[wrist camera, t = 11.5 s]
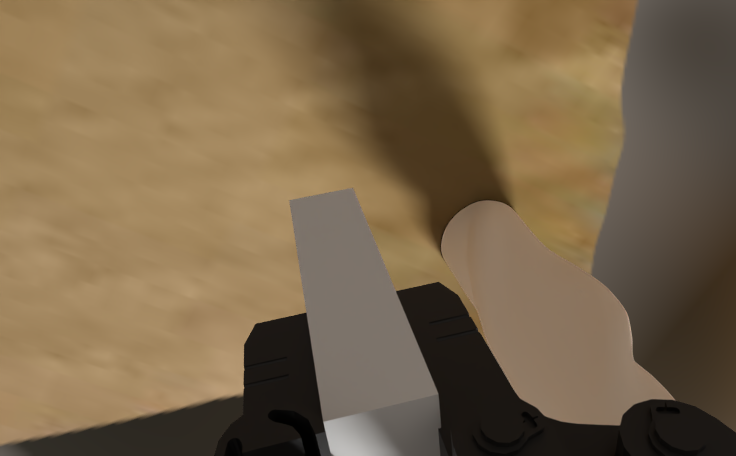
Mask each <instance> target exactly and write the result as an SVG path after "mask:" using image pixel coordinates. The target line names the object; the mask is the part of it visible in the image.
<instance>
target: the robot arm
mask: <svg viewBox="0 0 736 456" xmlns="http://www.w3.org/2000/svg"><path fill="white" fill-rule="evenodd" d="M289 201H290V208H291V214H292V221H293V227H294V234H295V240H296V247H297V253H298V260H299V266H300V273H301V280H302V286H303V293H304V299H305V306H306V312H307V313H303V314H298V315H294V316H289V317H285V318H280V319H276V320H271V321H267V322H262V323H257V324H255V326H254V328H253V330H252V332H251V333H250V335H249V337H248V339H247V341H246V342H245V344H244V369H245V371H244V404H243V406H244V407H243V415H242V416H241V417H240V418H238V419H237V420H236V421H235V422H233V423H232V424H231V425H230V426H229V428H228V429H227V430H226V432H225V433H224V434H223V436H222V437H221V438H220V440H219V441H218V445H217V448H216V451H215V455H214V456H736V433H735V432H734V431H733V430H731V429H730V428H729V427H727V426H726V425H724V424H723V423H722V422H720V421H719V420H718V419H716V418H715V417H713V416H711V415H709V414H708V413H706V412H704V411H702V410H701V409H699V408H697V407H695V406H692V405H688V404H685V403H682V402H678V401H675V400H663V399H650V400H647V401H643V402H640V403H637V404H634V405H633V406H632V407H631V408H630V409H628V410H627V411H626V412H625V413H624V414H623V416H622V420H621V424H620V425H596V424H576V423H568V422H561V421H558V420H555V419H552V418H549V417H546V416H544V415H543V414H542V413H541V412H540V411H539V410H538V408H536V407H534V406H533V405H531V404H529V403H527V402H525V401H524V400H522V399H520V398H519V397H518V395H517V394H516V393H515V391H514V390H513V388H512V387H511V385H510V383H509V382H508V380H507V378H506V376H505V375H504V373H503V371H502V369H501V368H500V366H499V364H498V363H497V361H496V359H495V358H494V356H493V354H492V353H491V351H490V349H489V347H488V346H487V344H486V342H485V340H484V339H483V337H482V335H481V334H480V333H479V332H478V328H477V327H476V325H475V323H474V322H473V320H472V318H471V317H469V313H468V311H467V310H466V308H465V306H464V305H463V303H462V301H461V299H460V298H459V296H458V295H457V294H455V293H454V292H453V291H451V290H450V289H448V288H447V287H445V286H444V285H442V284H441V283H439V282H436V283H432V284H427V285H422V286H418V287H413V288H409V289H404V290H400V291H395V288H394V286H393V283H392V281H391V279H390V276H389V274H388V271H387V269H386V267H385V264H384V262H383V259H382V257H381V255H380V252H379V250H378V247H377V245H376V243H375V240H374V238H373V235H372V233H371V230H370V228H369V226H368V223H367V221H366V218H365V216H364V214H363V211H362V209H361V206H360V204H359V202H358V199H357V197H356V194H355V192H354V190H353V188H350V189H345V190H340V191H335V192H329V193H324V194H319V195H314V196H309V197H304V198H299V199H294V200H289Z"/></svg>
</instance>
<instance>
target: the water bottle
mask: <svg viewBox="0 0 736 456" xmlns="http://www.w3.org/2000/svg"><path fill="white" fill-rule="evenodd" d="M441 252H442V256H443V258H444V260H445V262H446V263H447V265H448V267H449V268H450V270H451V271H452V273H453V275H454V276H455V278H456V279H457V281H458V283H459V284H460V286H461V287H462V289H463V291H464V292H465V294H466V295H467V297H468V298H469V300H470V301H471V302H472V304H473V305H474V307H475V308H476V309H477V312H478V315H479V318H480V322H481V325H482V328H483V331H484V335H485V338H486V340H487V343H488V345H489V347H490V349H491V351H492V353H493V354H494V356H495V358H496V359H497V361H498V363H499V364H500V366H501V368H502V370H503V371H504V373H505V375H506V376H507V378H508V380H509V381H510V383H511V385H512V387H513V389H514V390H515V392H516V394H517V395H518V397H519V398H520V399H522V400H524V401H525V402H527V403H529V404H531V405H533V406H534V407H536V408H538V410H539V411H540V412H541V413H542V414H543V415H544V416H546V417H549V418H552V419H555V420H558V421H561V422H568V423H576V424H596V425H620V424H621V420H622V416H623V414H624V413H625V412H626V411H627V410H628V409H630V408H631V407H632V406H633V405H634V404H637V403H640V402H643V401H647V400H650V399H663V400H674V398H673V397H672V396H671V395H670V393H669V392H668V391H667V390H666V389H665V388H664V387H663V386H662V385H661V384H660V383H659V382H658V381H657V380H656V379H655V378H654V377H653V376H652V375H651V374H650V373H648V372H647V371H646V370H645V369H643V368H642V367H641V366H640V365H638V364H637V363H636V362H634V358H633V351H632V334H631V327H630V322H629V317H628V314H627V312H626V311H625V309H624V307H623V306H622V304H621V303H620V302H619V301H618V299H617V298H616V297H615V296H614V295H613V293H612V292H611V291H610V290H609V289H608V288H607V287H606V286H604V285H603V284H602V283H601V282H599V281H598V280H597V279H595V278H594V277H593V276H591V275H590V274H588V273H587V272H585V271H584V270H582V269H580V268H579V267H577V266H576V265H574V264H572V263H571V262H569V261H567V260H565V259H564V258H562V257H560V256H558V255H557V254H555V253H553V252H552V251H550V250H549V249H548V248H547V247H545V246H544V245H543V244H542V243H541V242H540V241H539V240H538V238H537V237H536V236H535V235H534V234H533V233H532V231H531V230H530V229H529V228H528V226H527V225H526V224H525V223H524V222H523V220H522V219H521V218H520V217H519V216H518V214H517V213H516V212H515V211H514V210H513V209H512V208H511V207H510V206H508V205H506V204H504V203H502V202H498V201H491V200H484V201H478V202H475V203H473V204H470V205H469V206H467V207H465V208H464V209H462V210H461V211H459V212H458V213H457V214H456V215H455V216H454V217H453V218H452V219H451V221H450V222H449V224H448V225H447V227H446V229H445V231H444V234H443V237H442V242H441Z"/></svg>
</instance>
